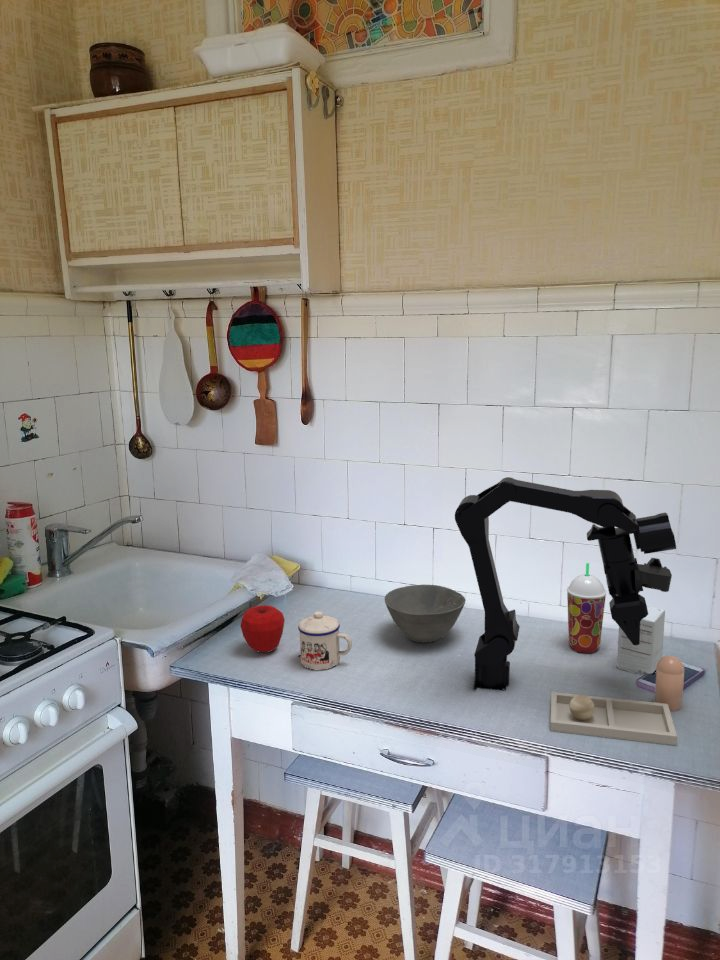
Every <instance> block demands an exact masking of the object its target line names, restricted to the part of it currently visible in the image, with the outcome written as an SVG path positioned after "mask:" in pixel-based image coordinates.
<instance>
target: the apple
mask: <svg viewBox="0 0 720 960" xmlns="http://www.w3.org/2000/svg"><path fill="white" fill-rule="evenodd" d="M284 625H285V616H284V613H283V612H281V611H280V610H279V609H278V608H276V607H275V606H272V605H267V604H264V605H263V604H262V605H256V606H253V607H249V608H248V609H247V610H246V611H245V612H244V613H243V614H242V617H241V622H240V629H241V632H242V637H243V638H244V641H246V645H248V647H249V648H250V649H251V650H254V651H255V652H257V651H259V652H258V653H260V652H267V653H269V652H268V651H270V652H272V651H274V650H275V649H277V647H278V646H279V644H280V642H281V639H282V635H283V632H284V627H285V626H284ZM273 649H274V650H273ZM271 650H272V651H271Z"/></svg>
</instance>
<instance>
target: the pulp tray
mask: <svg viewBox="0 0 720 960" xmlns="http://www.w3.org/2000/svg"><path fill="white" fill-rule="evenodd" d="M550 693H551V696H550V730H549V731H550V732H557V733H564V734H565V733H566V734H575V735H581V736H582V735H583V736H589V737H599V738H606V739H607V738H609V739H617V740H625V741H634V742H643V743H651V744H660V745H667V746H677V743H678V742H677V740H678V734H677V731H676V728H675V724H674V721H673V717H672V714H671V711H670V709H669V706H668V704H664V703H655V702H654V701H653V702H651V701H645V700H642V701H641V700H633V699H623V698H615V697H614V698H613V697H605V696H604V697H603V696H596V695H595V696H594V695H587V694H584V695H585V696H587V697H589V698H590V699H591V700H592V702H593V704H594V713H593V715H592V716H591V717H590V718H589V719H586V720H580V719H577V718H576V717H574V716H573V715H572V713H571V711H570V702H571V700H572V698H574V697H575V696H577V695H578V694H575V693H566V692H565V693H564V692H557V691H551V692H550Z"/></svg>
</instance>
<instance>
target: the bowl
mask: <svg viewBox="0 0 720 960" xmlns="http://www.w3.org/2000/svg"><path fill="white" fill-rule="evenodd" d="M384 603H385V606H386V608H387V611H388V613H389V615H390V616H391V619H392V621H393V623H394V624H395V625H396V627H397V628H398V629H399V631H401V632H402V633H403V635H404V636H406V637H407V638H408V639H410V640H412V641H414V642H415V643H416V642H417V643H426V644H427V643H430V642H435V641H438V640H440V639H441V638H444V637H445V636H446V634H448V633H449V632H450V631H451V630H452V629H453V627H454V625H455V624H456V623H457V620H458V619H459V616H460V615H461V613H462V611H463V609H464V606H465V604H466V598H465V596H464V595H463V594H462V593H460V592H458V591H456V590H453V589H451V588H449V587H446V586H442V585H435V584H414V585H413V584H412V585H407V586H406V585H405V586H402V587H398V588H394V589H393V590H390V591H389V592H387V593H386V594H385V596H384Z"/></svg>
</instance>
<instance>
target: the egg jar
mask: <svg viewBox="0 0 720 960" xmlns="http://www.w3.org/2000/svg"><path fill="white" fill-rule="evenodd" d="M684 679H685V665H684V664H683V662H682V661H681V659H679V658H678V657H677V656H674V655H665V656H662V658H661V659H660V660H659V661H658V663H657V670H656V672H655V685H654V686H655V687H654V700H653V702H655V703H664V704H668V706H669V709H670V712H677V711H680V710H681V709H682V708H683V707H682V706H683V697H684V696H683V694H684V682H685V680H684Z"/></svg>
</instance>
